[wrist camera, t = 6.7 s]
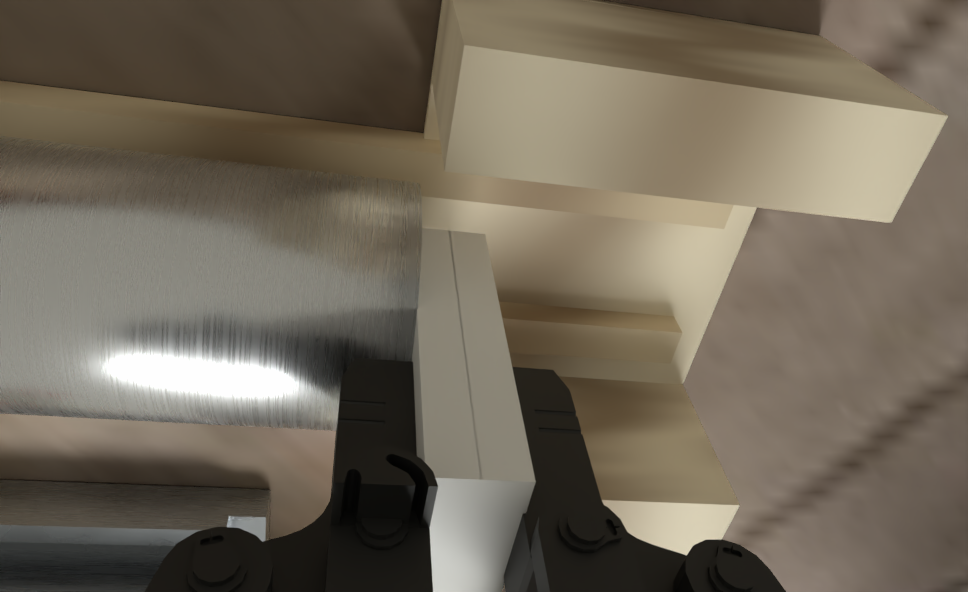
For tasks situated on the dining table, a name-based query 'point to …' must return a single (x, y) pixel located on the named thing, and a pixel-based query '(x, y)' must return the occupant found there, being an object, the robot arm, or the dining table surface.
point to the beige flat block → (589, 194)
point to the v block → (109, 531)
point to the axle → (196, 285)
